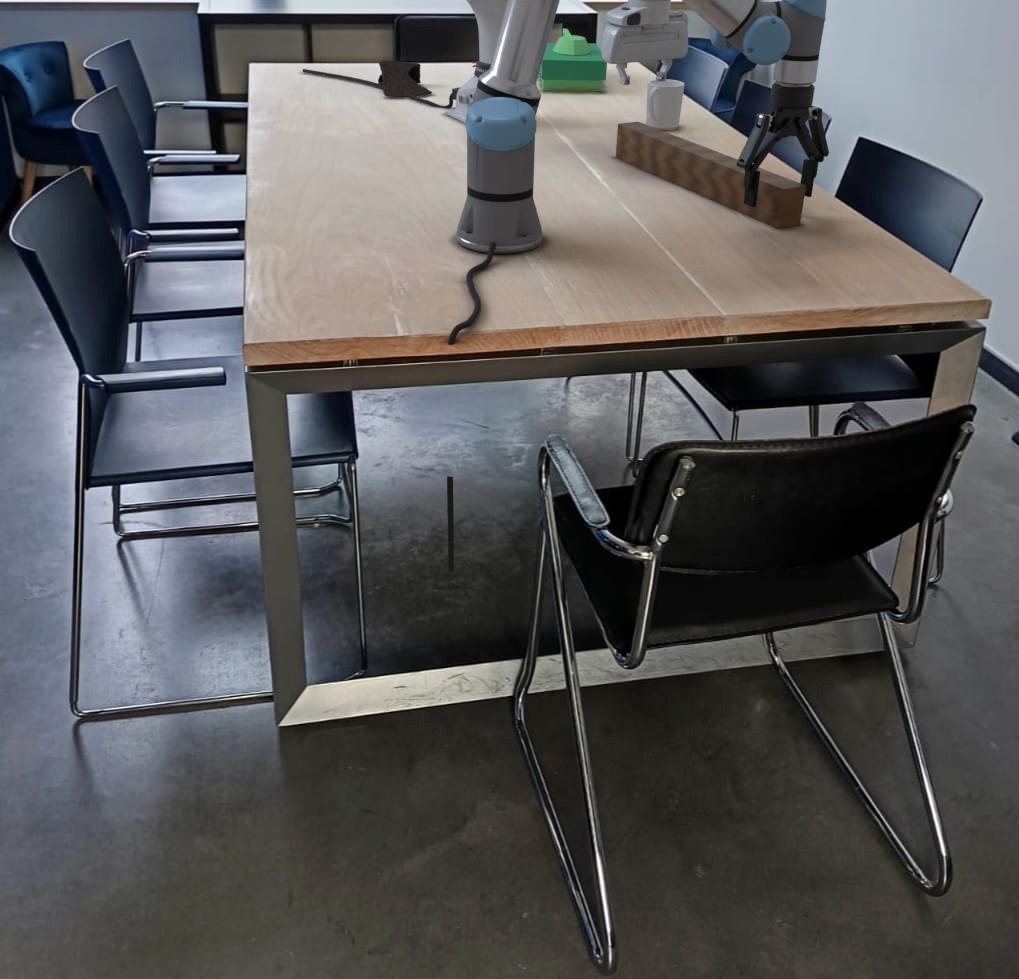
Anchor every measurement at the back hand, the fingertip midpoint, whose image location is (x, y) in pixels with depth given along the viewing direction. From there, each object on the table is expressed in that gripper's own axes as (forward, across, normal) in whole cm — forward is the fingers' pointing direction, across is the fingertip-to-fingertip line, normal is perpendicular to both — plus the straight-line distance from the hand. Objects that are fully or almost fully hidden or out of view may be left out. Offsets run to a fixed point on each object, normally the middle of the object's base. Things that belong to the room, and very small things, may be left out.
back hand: (642, 82), depth 235 cm
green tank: (+17, -32, -81) cm, 89 cm away
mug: (+17, -23, -23) cm, 37 cm away
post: (+17, 0, +23) cm, 28 cm away
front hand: (+13, 0, +46) cm, 48 cm away
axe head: (+17, +18, -87) cm, 90 cm away
